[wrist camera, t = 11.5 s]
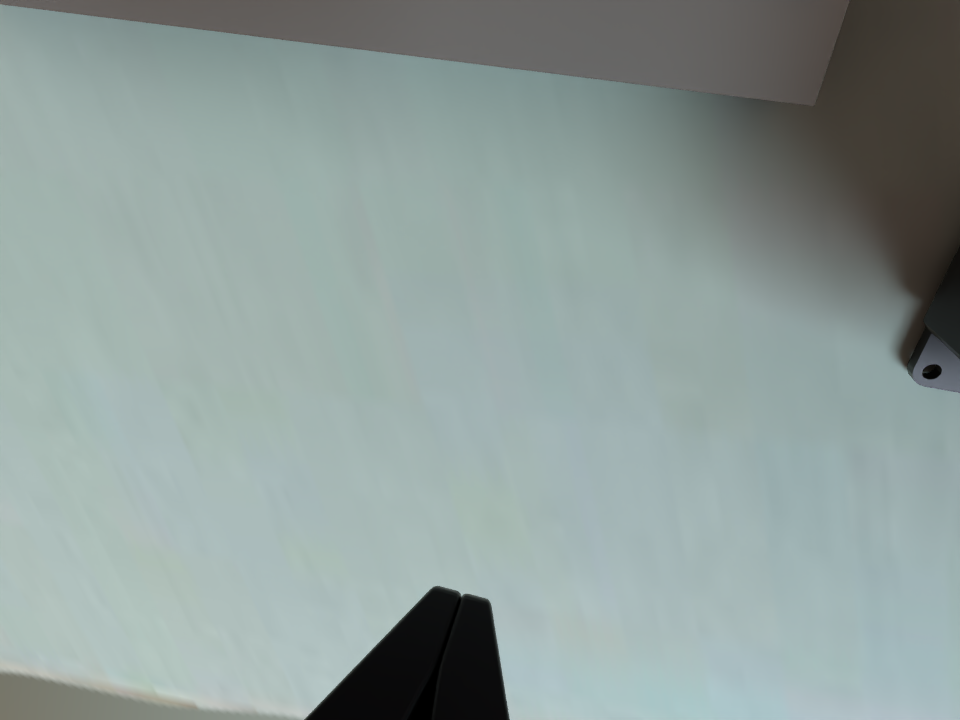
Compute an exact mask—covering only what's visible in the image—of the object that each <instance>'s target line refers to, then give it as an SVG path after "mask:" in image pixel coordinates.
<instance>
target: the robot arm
mask: <svg viewBox="0 0 960 720" xmlns="http://www.w3.org/2000/svg"><path fill="white" fill-rule="evenodd" d="M924 323H925V325H926V328H925V330H924V332H923V334H922V336H921V338H920V340H919V342H918V344H917V346H916V348H915V350H914V352H913V354H912V356H911V358H910V360H909V362H908V366H907V370H908V374H909V375H910V376H911V377H912V378H913V379H914V381H916V382H917V383H918V384H919V385H922V386H925V387H930V388H936V389H942V390H947V391H953V392H958V393H960V246H959V248H958V250H957V252H956V254H955V256H954V258H953V261H952V263H951V265H950V267H949V269H948V271H947V273H946V275H945V277H944V279H943V281H942V283H941V285H940V287H939V289H938V291H937V293H936V295H935V297H934V299H933V301H932V303H931V305H930V308H929V310H928V312H927V314H926V316H925V318H924ZM931 364H936V367H935V368H934V370H933V371H931V372H929V373H922V370H923V369H924V368H925V367H926V366H928V365H931ZM304 720H510V719H509V713H508V707H507V701H506V694H505V688H504V682H503V676H502V669H501V663H500V657H499V651H498V644H497V638H496V632H495V626H494V619H493V613H492V607H491V603H490V601H489V600H488V599H486V598H482V597H478V596H474V595H471V594H464V595H463V596H462V597H461V594H460V593H459V592H458V591H456V590H452V589H448V588H444V587H440V586H435V587H433V588H432V589H430V590H429V591H428V592H427V593H426V594H425V595H424V596H423V597H422V599H421V600H420V601H419V602H418V603H417V604H416V605H415V606H414V607H413V608H412V609H411V610H410V611H409V612H408V613H407V614H406V615H405V616H404V617H403V618H402V619H401V620H400V621H399V622H398V623H397V624H396V625H395V626H394V627H393V629H392V630H391V631H390V632H389V633H388V634H387V635H386V636H385V637H384V638H383V639H382V640H381V641H380V642H379V643H378V644H377V645H376V646H375V647H374V648H373V649H372V650H371V651H370V652H369V653H368V654H367V655H366V656H365V657H364V658H363V660H362V661H361V662H360V663H359V664H358V665H357V666H356V667H355V668H354V669H353V670H352V671H351V672H350V673H349V674H348V675H347V676H346V677H345V678H344V679H343V680H342V681H341V682H340V683H339V684H338V685H337V686H336V687H335V688H334V689H333V691H332V692H331V693H330V694H329V695H328V696H327V697H326V698H325V699H324V700H323V701H322V702H321V703H320V704H319V705H318V706H317V707H316V708H315V709H314V710H313V711H312V712H311V713H310V714H309V715H308V716H307V717H306V718H305V719H304Z"/></svg>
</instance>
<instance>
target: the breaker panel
mask: <svg viewBox="0 0 960 720" xmlns="http://www.w3.org/2000/svg"><path fill="white" fill-rule="evenodd" d="M849 2H850V0H0V4H3V5H11V6H19V7H27V8H35V9H43V10H51V11H59V12H67V13H75V14H83V15H91V16H98V17H106V18H114V19H122V20H130V21H138V22H146V23H154V24H162V25H170V26H178V27H186V28H194V29H202V30H210V31H218V32H226V33H234V34H242V35H250V36H258V37H266V38H274V39H282V40H290V41H298V42H306V43H314V44H322V45H330V46H338V47H346V48H354V49H361V50H369V51H377V52H385V53H393V54H401V55H409V56H417V57H425V58H433V59H441V60H449V61H457V62H465V63H473V64H481V65H489V66H497V67H505V68H513V69H521V70H529V71H537V72H545V73H553V74H561V75H569V76H577V77H585V78H593V79H601V80H609V81H617V82H625V83H632V84H640V85H648V86H656V87H664V88H672V89H680V90H688V91H696V92H704V93H712V94H720V95H728V96H736V97H744V98H752V99H760V100H768V101H776V102H784V103H792V104H800V105H808V106H815V103H816V100H817V97H818V94H819V91H820V88H821V85H822V82H823V79H824V76H825V73H826V70H827V67H828V64H829V61H830V58H831V55H832V52H833V49H834V46H835V43H836V40H837V37H838V35H839V32H840V29H841V26H842V23H843V20H844V17H845V14H846V11H847V8H848V5H849Z"/></svg>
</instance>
